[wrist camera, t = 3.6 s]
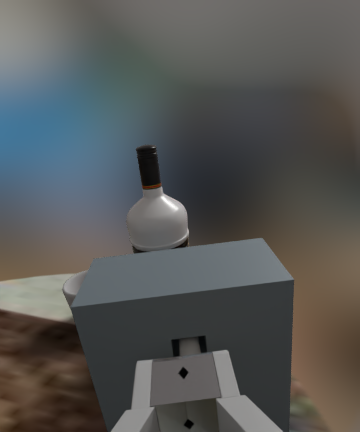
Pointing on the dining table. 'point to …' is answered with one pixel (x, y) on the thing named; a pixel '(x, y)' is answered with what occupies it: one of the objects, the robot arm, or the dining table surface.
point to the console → (189, 319)
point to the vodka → (155, 211)
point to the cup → (73, 286)
